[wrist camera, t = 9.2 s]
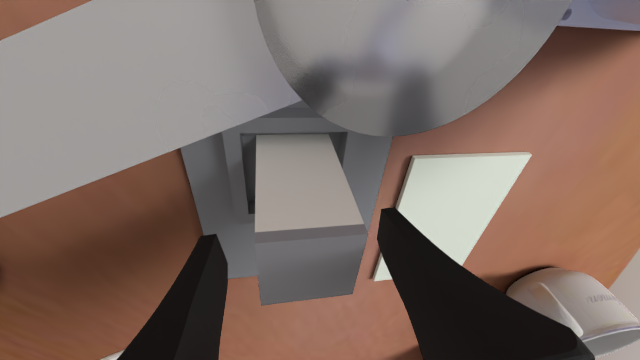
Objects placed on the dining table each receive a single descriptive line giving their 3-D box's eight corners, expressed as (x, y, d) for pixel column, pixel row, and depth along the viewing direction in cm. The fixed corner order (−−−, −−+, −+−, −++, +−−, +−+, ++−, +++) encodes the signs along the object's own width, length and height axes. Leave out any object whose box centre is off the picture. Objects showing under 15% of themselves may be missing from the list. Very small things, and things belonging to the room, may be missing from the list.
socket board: (441, -69, 11) (942, -147, 3) (357, 260, 25) (408, 414, 16) (116, -110, 9) (-1201, -752, 1) (216, 274, 23) (191, 460, 14)
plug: (328, 133, 16) (368, 234, 10) (322, 188, 18) (352, 294, 12) (256, 134, 15) (254, 243, 9) (260, 191, 18) (260, 305, 12)
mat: (527, 151, 20) (531, 154, 20) (455, 267, 29) (457, 271, 28) (412, 155, 19) (415, 158, 18) (372, 277, 27) (373, 281, 27)
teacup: (575, 281, 36) (640, 348, 30) (494, 315, 38) (539, 383, 32) (579, 226, 28) (670, 302, 22) (475, 273, 30) (530, 354, 24)
